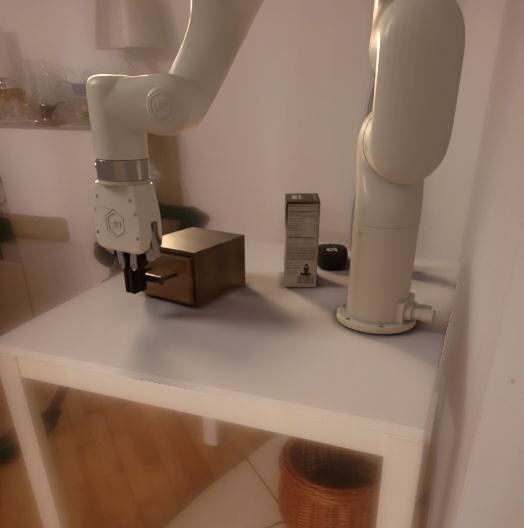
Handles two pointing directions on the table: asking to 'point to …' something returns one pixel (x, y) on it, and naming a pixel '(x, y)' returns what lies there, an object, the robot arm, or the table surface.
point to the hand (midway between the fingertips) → (136, 290)
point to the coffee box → (301, 239)
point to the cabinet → (209, 261)
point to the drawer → (171, 277)
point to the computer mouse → (332, 256)
